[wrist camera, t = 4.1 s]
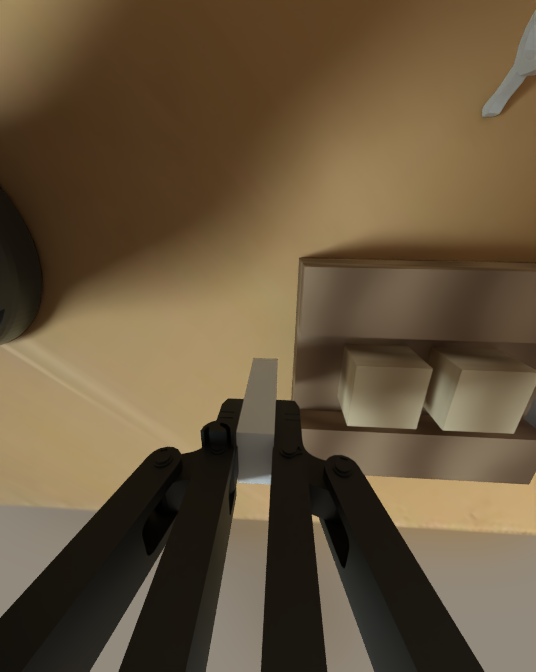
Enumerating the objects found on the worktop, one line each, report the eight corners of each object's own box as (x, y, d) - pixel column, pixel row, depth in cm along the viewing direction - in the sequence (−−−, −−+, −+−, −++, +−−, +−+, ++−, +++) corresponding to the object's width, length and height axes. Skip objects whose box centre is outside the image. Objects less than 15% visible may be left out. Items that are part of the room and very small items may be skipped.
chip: (418, 399, 18) (442, 430, 15) (432, 346, 17) (462, 369, 14) (478, 402, 18) (513, 433, 15) (497, 349, 16) (541, 372, 14)
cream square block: (337, 396, 18) (347, 425, 16) (344, 343, 17) (356, 365, 14) (395, 399, 18) (416, 429, 15) (407, 346, 17) (433, 368, 14)
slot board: (290, 423, 23) (292, 471, 18) (299, 257, 18) (305, 266, 13) (478, 432, 22) (529, 484, 18) (543, 262, 17) (639, 273, 13)
